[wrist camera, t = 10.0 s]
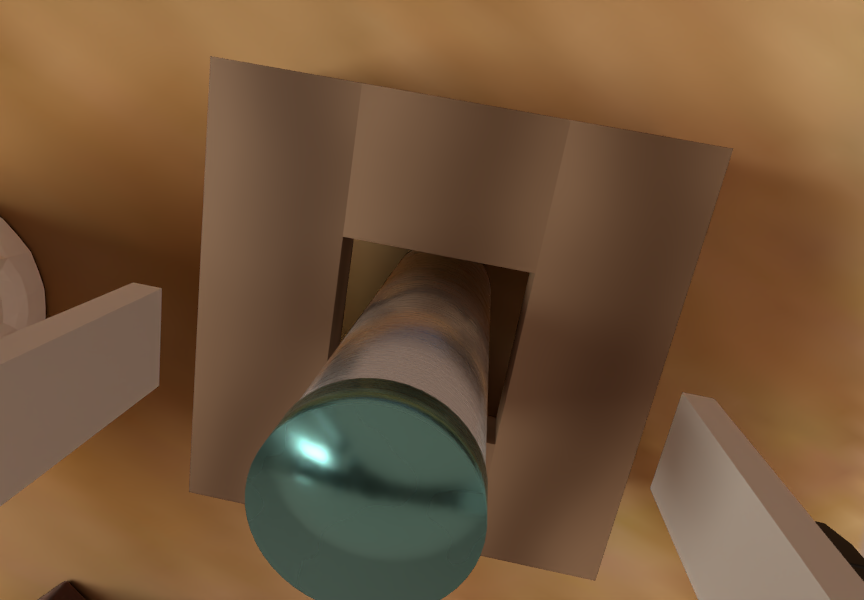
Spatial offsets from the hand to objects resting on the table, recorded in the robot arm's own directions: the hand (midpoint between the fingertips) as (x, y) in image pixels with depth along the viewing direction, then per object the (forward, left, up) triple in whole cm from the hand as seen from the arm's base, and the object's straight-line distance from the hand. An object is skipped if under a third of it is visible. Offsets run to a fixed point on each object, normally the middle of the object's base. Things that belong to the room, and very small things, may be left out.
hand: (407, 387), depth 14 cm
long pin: (0, 0, -9) cm, 9 cm away
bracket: (0, 0, -9) cm, 9 cm away
